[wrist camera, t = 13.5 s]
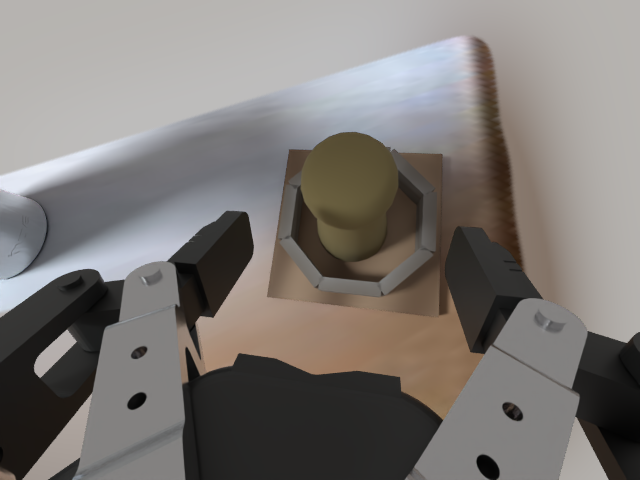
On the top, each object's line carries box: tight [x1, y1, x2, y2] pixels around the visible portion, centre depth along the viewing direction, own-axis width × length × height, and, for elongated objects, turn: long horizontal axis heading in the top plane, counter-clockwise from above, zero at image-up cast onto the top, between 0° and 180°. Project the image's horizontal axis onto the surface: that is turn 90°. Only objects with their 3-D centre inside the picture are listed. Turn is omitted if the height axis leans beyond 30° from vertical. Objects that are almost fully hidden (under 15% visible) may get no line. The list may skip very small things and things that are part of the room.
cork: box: [301, 132, 398, 262], centre depth 18 cm, size 6×6×11 cm
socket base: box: [267, 147, 442, 317], centre depth 23 cm, size 14×14×4 cm
